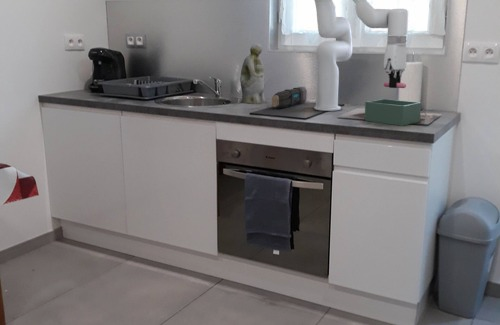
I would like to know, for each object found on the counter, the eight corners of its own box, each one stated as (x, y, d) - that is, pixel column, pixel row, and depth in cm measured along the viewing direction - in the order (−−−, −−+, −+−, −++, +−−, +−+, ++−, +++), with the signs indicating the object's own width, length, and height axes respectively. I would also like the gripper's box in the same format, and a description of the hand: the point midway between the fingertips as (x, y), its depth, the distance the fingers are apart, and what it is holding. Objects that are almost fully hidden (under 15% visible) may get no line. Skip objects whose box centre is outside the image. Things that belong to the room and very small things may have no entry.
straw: (382, 86, 216) (382, 82, 215) (385, 86, 217) (385, 81, 216) (404, 88, 209) (404, 83, 208) (406, 88, 210) (407, 83, 209)
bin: (364, 120, 218) (365, 101, 216) (382, 116, 227) (383, 98, 225) (402, 125, 206) (403, 106, 204) (419, 121, 215) (421, 102, 213)
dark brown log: (266, 114, 250) (295, 99, 274) (278, 119, 248) (306, 103, 271) (270, 93, 245) (298, 80, 269) (282, 97, 243) (310, 83, 266)
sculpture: (253, 104, 266) (253, 43, 258) (235, 101, 276) (234, 43, 269) (269, 102, 273) (269, 43, 266) (251, 99, 283) (251, 42, 276)
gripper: (399, 40, 216) (396, 85, 221) (377, 41, 206) (375, 88, 210) (415, 40, 211) (413, 86, 215) (394, 41, 200) (392, 89, 205)
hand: (394, 87), depth 213 cm, fingers closed on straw, 2 cm apart
